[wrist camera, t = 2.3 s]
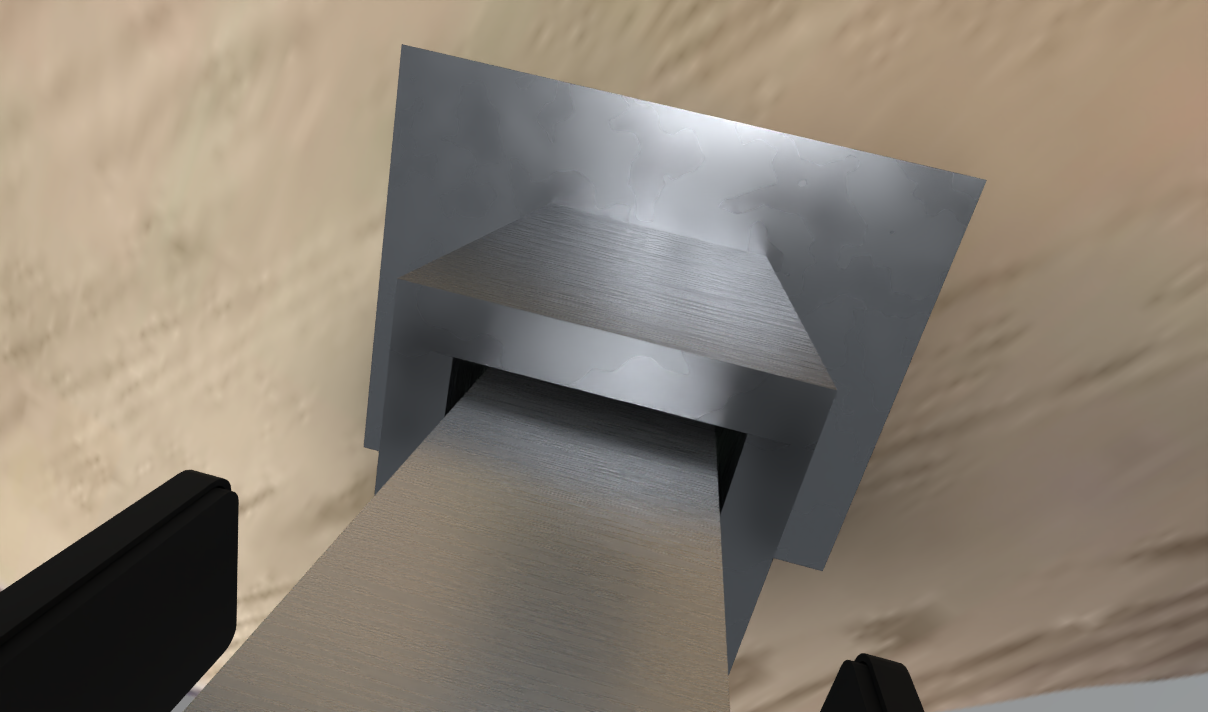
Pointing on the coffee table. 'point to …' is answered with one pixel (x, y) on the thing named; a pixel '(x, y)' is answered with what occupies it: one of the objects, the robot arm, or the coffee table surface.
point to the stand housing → (658, 285)
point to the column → (512, 572)
